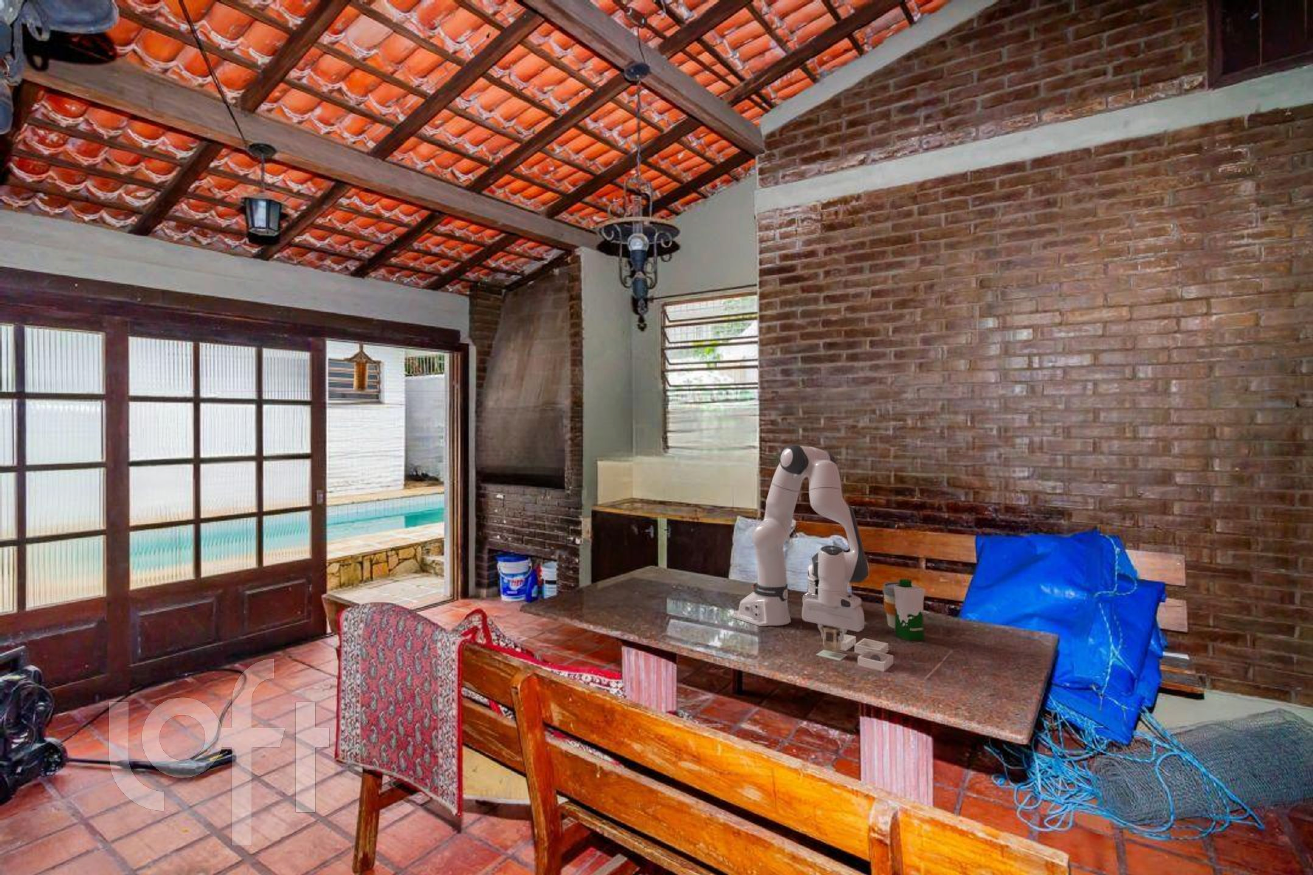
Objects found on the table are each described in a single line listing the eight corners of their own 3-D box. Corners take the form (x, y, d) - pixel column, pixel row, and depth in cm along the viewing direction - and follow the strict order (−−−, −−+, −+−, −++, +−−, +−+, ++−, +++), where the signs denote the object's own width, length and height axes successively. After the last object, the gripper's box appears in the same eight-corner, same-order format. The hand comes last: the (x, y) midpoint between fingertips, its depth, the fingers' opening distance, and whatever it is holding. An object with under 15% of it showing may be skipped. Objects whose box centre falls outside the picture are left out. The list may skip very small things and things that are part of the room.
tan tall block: (823, 649, 202) (823, 628, 202) (829, 646, 205) (828, 625, 205) (835, 652, 199) (835, 630, 199) (841, 648, 203) (840, 627, 202)
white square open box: (857, 666, 194) (857, 656, 193) (867, 658, 200) (867, 649, 200) (884, 672, 188) (884, 663, 188) (893, 664, 195) (893, 655, 195)
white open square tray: (823, 646, 211) (823, 637, 211) (833, 640, 218) (833, 631, 218) (846, 651, 206) (846, 642, 206) (855, 645, 213) (855, 636, 212)
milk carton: (911, 632, 225) (911, 577, 225) (928, 640, 216) (928, 583, 216) (890, 635, 223) (890, 579, 222) (907, 643, 214) (907, 585, 214)
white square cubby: (854, 653, 204) (854, 644, 204) (863, 647, 211) (863, 638, 211) (879, 659, 199) (879, 650, 199) (888, 652, 206) (888, 643, 205)
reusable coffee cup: (919, 622, 236) (919, 583, 236) (918, 632, 225) (918, 591, 225) (884, 618, 242) (884, 580, 241) (881, 628, 230) (881, 588, 230)
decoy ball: (868, 664, 194) (868, 654, 194) (872, 661, 196) (872, 652, 196) (878, 666, 192) (878, 657, 192) (882, 663, 194) (882, 654, 194)
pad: (816, 656, 202) (816, 654, 202) (823, 651, 207) (823, 649, 207) (839, 662, 197) (839, 660, 197) (847, 656, 202) (847, 654, 202)
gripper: (798, 593, 206) (798, 635, 206) (858, 604, 193) (858, 648, 193) (806, 589, 211) (807, 630, 211) (866, 599, 198) (866, 642, 198)
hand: (832, 639), depth 202 cm, fingers closed on tan tall block, 4 cm apart
